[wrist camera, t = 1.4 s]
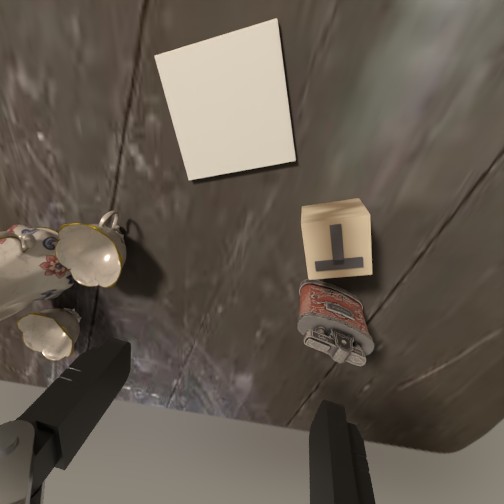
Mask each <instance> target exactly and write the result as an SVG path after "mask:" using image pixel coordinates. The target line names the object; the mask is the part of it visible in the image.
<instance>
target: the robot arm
mask: <svg viewBox="0 0 504 504" xmlns="http://www.w3.org/2000/svg"><path fill="white" fill-rule="evenodd" d="M130 363H131V344H130V343H129V342H125V341H122V340H118V339H115V338H111V339H109V340H108V341H107V342H106V343H105V344H104V345H103V346H102V348H101V349H98V348H94V347H93V348H92V349H90V350H88V351H86V352H85V353H83V354H81V355H80V356H79V357H78V358H77V359H76V360H75V361H74V362H73V363H72V364H71V365H70V366H69V368H68V369H66V370H65V371H64V372H63V373H62V374H61V375H60V377H59V378H57V379H56V380H55V381H54V382H53V383H52V384H51V385H50V386H49V387H48V388H47V389H46V390H45V392H44V393H43V394H42V395H41V396H40V397H39V398H38V399H37V400H36V401H35V402H34V403H33V404H32V405H31V406H30V407H29V408H28V409H27V410H26V411H25V412H24V413H23V414H22V415H21V416H20V417H19V418H17V419H16V420H14V421H9V422H6V423H4V424H1V425H0V504H43V499H44V488H45V479H46V478H47V476H48V475H49V473H50V472H51V471H52V469H53V468H54V467H56V468H60V469H63V470H65V469H66V468H67V466H68V465H69V463H70V462H71V461H72V459H73V457H74V456H75V455H76V453H77V452H78V450H79V449H80V447H81V446H82V444H83V443H84V442H85V440H86V439H87V437H88V436H89V434H90V433H91V432H92V430H93V429H94V427H95V426H96V424H97V423H98V422H99V420H100V419H101V417H102V416H103V414H104V413H105V411H106V410H107V409H108V407H109V406H110V404H111V403H112V401H113V400H114V398H115V397H116V395H117V394H118V393H119V391H120V390H121V388H122V387H123V385H124V384H125V382H126V380H127V378H128V376H129V373H130ZM309 467H310V504H375V499H374V494H373V488H372V483H371V478H370V474H369V467H368V462H367V460H366V451H365V446H364V441H363V439H362V437H361V435H360V433H359V431H358V429H357V427H356V425H354V424H351V423H348V422H347V421H346V414H345V409H344V406H343V405H340V404H337V403H333V402H330V401H327V400H323V401H322V403H321V405H320V407H319V409H318V411H317V413H316V415H315V417H314V420H313V422H312V424H311V428H310V435H309Z"/></svg>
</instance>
